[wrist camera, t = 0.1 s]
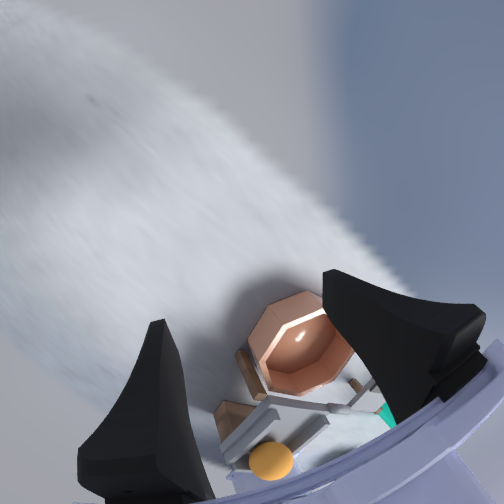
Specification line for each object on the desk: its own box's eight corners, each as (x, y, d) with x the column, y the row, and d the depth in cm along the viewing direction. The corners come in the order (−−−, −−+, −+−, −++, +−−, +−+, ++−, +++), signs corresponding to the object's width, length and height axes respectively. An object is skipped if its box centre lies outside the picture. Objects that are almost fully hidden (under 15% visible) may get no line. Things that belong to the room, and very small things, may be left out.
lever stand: (316, 427, 33) (336, 458, 27) (199, 411, 26) (209, 455, 21) (356, 379, 32) (383, 408, 26) (238, 349, 25) (258, 392, 20)
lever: (325, 451, 28) (334, 469, 25) (219, 445, 22) (224, 471, 20) (405, 372, 25) (421, 390, 22) (308, 345, 19) (325, 373, 17)
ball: (273, 447, 24) (276, 482, 21) (239, 444, 22) (240, 482, 19) (300, 438, 22) (304, 476, 19) (265, 435, 20) (267, 478, 17)
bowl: (305, 379, 29) (319, 399, 26) (233, 361, 25) (243, 385, 22) (351, 311, 28) (371, 327, 25) (283, 279, 24) (300, 296, 21)
